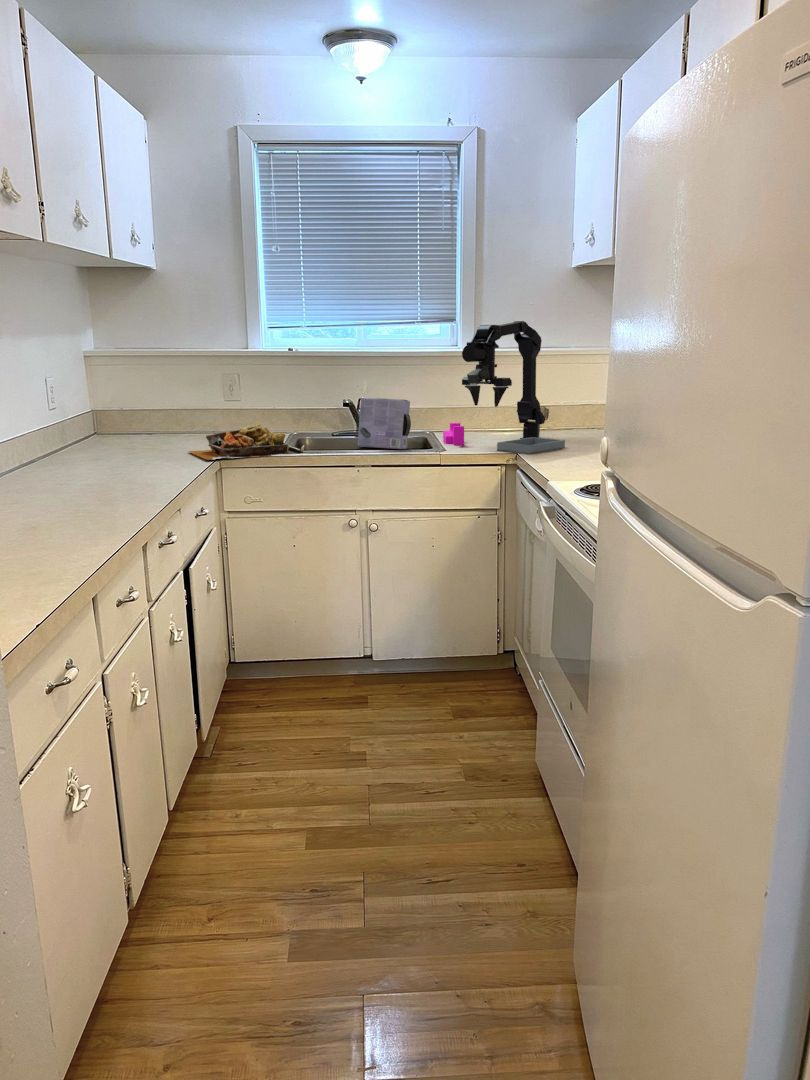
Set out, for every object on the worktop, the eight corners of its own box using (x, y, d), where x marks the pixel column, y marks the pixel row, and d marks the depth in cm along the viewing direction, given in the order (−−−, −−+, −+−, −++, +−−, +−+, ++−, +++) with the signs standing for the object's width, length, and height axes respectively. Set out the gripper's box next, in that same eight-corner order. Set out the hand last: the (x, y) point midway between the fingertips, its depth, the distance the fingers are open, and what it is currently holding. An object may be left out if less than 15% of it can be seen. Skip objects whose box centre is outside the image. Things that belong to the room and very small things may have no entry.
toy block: (443, 442, 308) (443, 423, 306) (459, 442, 308) (459, 422, 307) (447, 447, 294) (447, 426, 292) (464, 447, 294) (464, 426, 292)
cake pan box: (410, 449, 288) (412, 399, 285) (404, 449, 283) (406, 398, 280) (363, 446, 296) (364, 398, 293) (356, 447, 291) (358, 397, 288)
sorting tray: (532, 445, 296) (532, 437, 295) (564, 448, 286) (564, 440, 286) (497, 450, 282) (497, 442, 281) (529, 454, 272) (529, 445, 271)
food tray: (206, 462, 263) (204, 429, 260) (187, 453, 284) (185, 423, 282) (306, 455, 279) (305, 424, 276) (280, 447, 301) (279, 418, 298)
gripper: (451, 361, 284) (451, 406, 288) (493, 362, 272) (492, 408, 275) (472, 361, 292) (471, 404, 296) (513, 361, 279) (512, 406, 283)
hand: (486, 406), depth 287 cm, fingers open, 9 cm apart
